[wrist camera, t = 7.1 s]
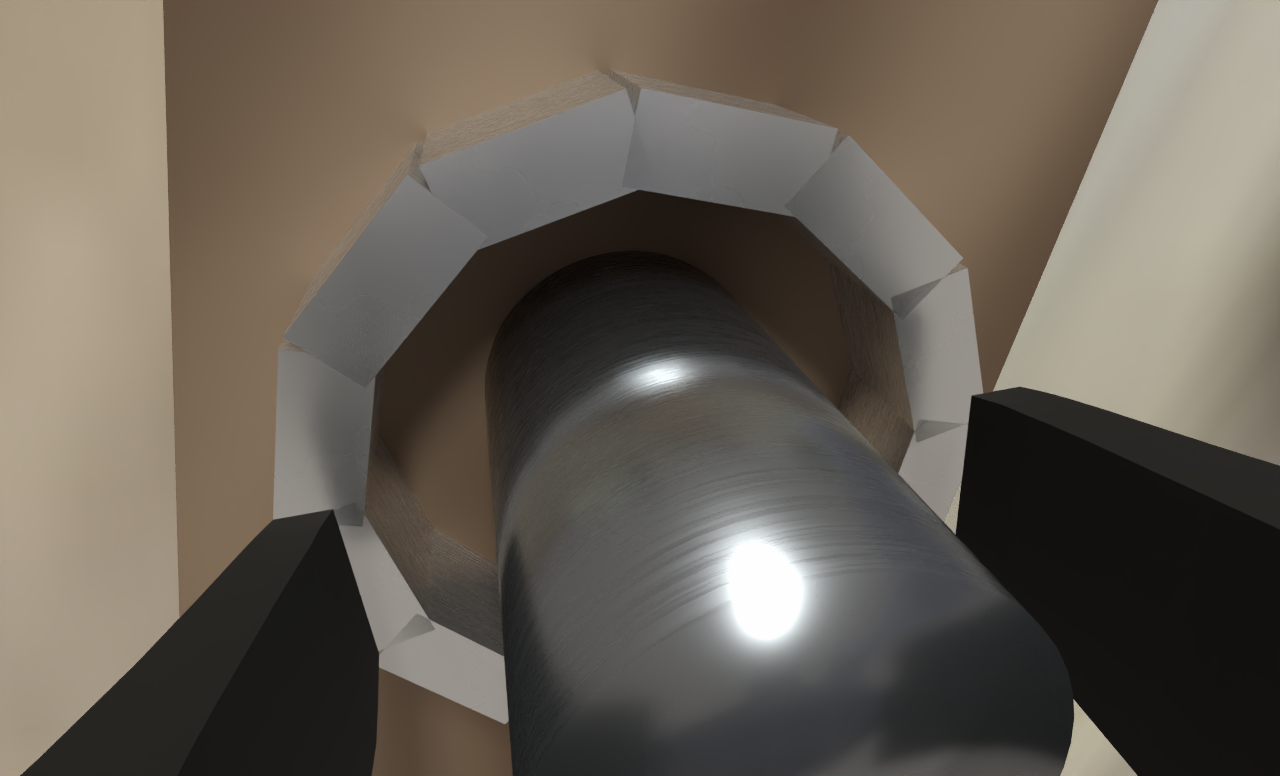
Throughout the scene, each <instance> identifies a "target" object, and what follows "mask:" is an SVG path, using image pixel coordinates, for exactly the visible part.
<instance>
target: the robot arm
mask: <svg viewBox="0 0 1280 776" xmlns="http://www.w3.org/2000/svg"><path fill="white" fill-rule="evenodd" d="M956 536H957V537H958V538H959V539H960V540H961V541H962V542H963V543H964V544H965V546H966V547H967V548H968V549H969V550H970V551H971V552H972V553H973V554H974V555H975V556H976V557H977V558H978V559H979V560H980V562H981V563H982V564H983V565H984V566H985V567H986V568H987V569H988V570H989V571H990V572H991V573H992V574H993V575H994V577H995V578H996V579H997V580H998V581H999V582H1000V583H1001V584H1002V585H1003V586H1004V587H1005V588H1006V589H1007V590H1008V591H1009V593H1010V594H1011V595H1012V596H1013V597H1014V598H1015V599H1016V600H1017V601H1018V602H1019V603H1020V604H1021V605H1022V606H1023V608H1024V609H1025V610H1026V611H1027V612H1028V613H1029V614H1030V615H1031V616H1032V617H1033V618H1034V619H1035V620H1036V621H1037V622H1038V624H1039V625H1040V626H1041V627H1042V628H1043V629H1044V631H1045V632H1046V633H1047V635H1048V636H1049V637H1050V639H1051V640H1052V641H1053V643H1054V644H1055V645H1056V647H1057V648H1058V651H1059V653H1060V655H1061V657H1062V659H1063V661H1064V663H1065V665H1066V668H1067V670H1068V674H1069V678H1070V683H1071V687H1072V691H1073V699H1074V700H1075V701H1076V702H1077V704H1078V705H1079V706H1080V707H1081V708H1082V710H1083V711H1084V712H1085V713H1086V714H1087V716H1088V717H1089V718H1090V719H1091V720H1092V721H1093V723H1094V724H1095V725H1096V726H1097V727H1098V729H1099V730H1100V731H1101V732H1102V733H1103V735H1104V736H1105V737H1106V738H1107V739H1108V741H1109V742H1110V743H1111V744H1112V745H1113V747H1114V748H1115V749H1116V750H1117V751H1118V753H1119V754H1120V755H1121V756H1122V757H1123V758H1124V760H1125V761H1126V762H1127V763H1128V764H1129V766H1130V767H1131V768H1132V769H1133V770H1134V772H1135V773H1136V774H1137V775H1138V776H1280V466H1279V465H1275V464H1272V463H1269V462H1266V461H1262V460H1259V459H1256V458H1253V457H1249V456H1246V455H1243V454H1240V453H1237V452H1233V451H1230V450H1227V449H1224V448H1221V447H1218V446H1215V445H1211V444H1208V443H1205V442H1202V441H1199V440H1196V439H1193V438H1190V437H1187V436H1184V435H1181V434H1177V433H1174V432H1171V431H1168V430H1165V429H1162V428H1159V427H1156V426H1153V425H1150V424H1147V423H1144V422H1141V421H1138V420H1135V419H1132V418H1128V417H1125V416H1122V415H1119V414H1116V413H1113V412H1110V411H1107V410H1104V409H1100V408H1097V407H1094V406H1091V405H1088V404H1084V403H1081V402H1078V401H1074V400H1071V399H1068V398H1064V397H1060V396H1057V395H1053V394H1049V393H1045V392H1042V391H1037V390H1032V389H1028V388H1023V387H1016V388H1011V389H1005V390H999V391H994V392H988V393H983V394H977V395H971V404H970V412H969V421H968V430H967V439H966V448H965V457H964V465H963V474H962V483H961V492H960V501H959V510H958V518H957V527H956ZM378 687H379V652H378V648H377V645H376V642H375V639H374V636H373V633H372V630H371V626H370V623H369V620H368V617H367V614H366V611H365V608H364V604H363V601H362V598H361V595H360V592H359V589H358V585H357V582H356V579H355V576H354V573H353V570H352V567H351V563H350V560H349V557H348V554H347V551H346V548H345V545H344V541H343V538H342V535H341V532H340V529H339V526H338V523H337V519H336V516H335V513H334V510H333V509H330V510H324V511H319V512H313V513H308V514H302V515H296V516H291V517H285V518H279V519H274V520H272V521H271V522H270V523H269V524H268V525H267V526H266V527H265V528H264V529H263V530H262V531H261V532H260V533H259V534H258V535H257V536H256V537H255V538H254V539H253V540H252V541H251V542H250V543H249V544H248V545H247V546H246V547H245V548H244V549H243V550H242V552H241V553H240V554H239V555H238V556H237V557H236V558H235V559H234V560H233V561H232V562H231V563H230V564H229V566H228V567H227V568H226V569H225V570H224V571H223V572H222V573H221V574H220V575H219V576H218V577H217V579H216V580H215V581H214V582H213V583H212V584H211V585H210V586H209V587H208V588H207V589H206V590H205V592H204V593H203V594H202V595H201V596H200V597H199V598H198V599H197V600H196V601H195V602H194V603H193V604H192V605H191V606H190V607H189V609H188V610H187V611H186V612H185V613H184V614H183V615H182V616H181V617H180V618H179V619H178V620H177V621H176V622H175V623H174V624H173V625H172V627H171V628H170V629H169V630H168V631H167V632H166V633H165V634H164V635H163V636H162V637H161V638H160V639H159V640H158V641H157V642H156V643H155V644H154V646H153V647H152V648H151V649H150V650H149V651H148V652H147V653H146V654H145V655H144V656H143V657H142V658H141V659H140V660H139V661H138V662H137V663H136V664H135V665H134V666H133V667H132V668H131V669H130V670H129V671H128V672H127V673H126V674H125V675H124V676H123V677H122V678H121V679H120V680H119V681H118V682H117V683H116V684H115V685H114V686H113V687H112V688H111V689H110V690H109V691H108V692H107V693H106V694H105V695H104V696H103V697H102V698H100V699H99V700H98V701H97V702H96V703H95V704H94V705H93V706H92V707H91V708H90V709H89V710H88V711H87V712H86V713H85V714H84V715H83V716H82V717H81V718H80V719H79V720H78V721H77V722H76V723H75V724H74V725H73V726H72V727H71V728H70V729H69V730H68V731H67V732H66V733H65V734H64V735H63V736H61V737H60V738H59V739H58V740H57V741H56V742H55V743H54V744H53V745H52V746H51V747H50V748H49V749H48V750H47V751H46V752H45V753H44V754H43V755H42V756H41V757H40V758H39V759H38V760H37V761H36V762H35V763H33V764H32V765H31V766H30V767H29V768H28V769H27V770H26V771H25V772H24V773H23V774H21V775H20V776H372V770H373V764H374V757H375V750H376V742H377V718H378Z"/></svg>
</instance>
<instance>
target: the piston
mask: <svg viewBox="0 0 1280 776" xmlns="http://www.w3.org/2000/svg"><path fill="white" fill-rule="evenodd" d="M485 403H486V417H487V431H488V444H489V458H490V472H491V485H492V499H493V513H494V527H495V540H496V554H497V568H498V581H499V595H500V609H501V623H502V636H503V650H504V664H505V678H506V691H507V705H508V719H509V732H510V746H511V760H512V774H513V776H1060V775H1061V772H1062V770H1063V768H1064V764H1065V761H1066V757H1067V754H1068V751H1069V747H1070V744H1071V737H1072V730H1073V722H1074V704H1073V691H1072V687H1071V683H1070V678H1069V674H1068V670H1067V668H1066V665H1065V663H1064V661H1063V659H1062V657H1061V655H1060V653H1059V651H1058V648H1057V647H1056V645H1055V644H1054V643H1053V641H1052V640H1051V639H1050V637H1049V636H1048V635H1047V633H1046V632H1045V631H1044V629H1043V628H1042V627H1041V626H1040V625H1039V624H1038V622H1037V621H1036V620H1035V619H1034V618H1033V617H1032V616H1031V615H1030V614H1029V613H1028V612H1027V611H1026V610H1025V609H1024V608H1023V606H1022V605H1021V604H1020V603H1019V602H1018V601H1017V600H1016V599H1015V598H1014V597H1013V596H1012V595H1011V594H1010V593H1009V591H1008V590H1007V589H1006V588H1005V587H1004V586H1003V585H1002V584H1001V583H1000V582H999V581H998V580H997V579H996V578H995V577H994V575H993V574H992V573H991V572H990V571H989V570H988V569H987V568H986V567H985V566H984V565H983V564H982V563H981V562H980V560H979V559H978V558H977V557H976V556H975V555H974V554H973V553H972V552H971V551H970V550H969V549H968V548H967V547H966V546H965V544H964V543H963V542H962V541H961V540H960V539H959V538H958V537H957V536H956V535H955V534H954V533H953V532H952V531H951V529H950V528H949V527H948V526H947V525H946V524H945V523H944V522H943V521H942V520H941V519H940V518H939V517H938V516H937V514H936V513H935V512H934V511H933V510H932V509H931V508H930V507H929V506H928V505H927V504H926V503H925V502H924V501H923V500H922V498H921V497H920V496H919V495H918V494H917V493H916V492H915V491H914V490H913V489H912V488H911V487H910V486H909V485H908V483H907V482H906V481H905V480H904V479H903V478H902V477H901V476H900V475H899V474H898V473H897V472H896V471H895V470H894V469H893V467H892V466H891V465H890V464H889V463H888V462H887V461H886V460H885V459H884V458H883V457H882V456H881V455H880V454H879V452H878V451H877V450H876V449H875V448H874V447H873V446H872V445H871V444H870V443H869V442H868V441H867V440H866V439H865V437H864V436H863V435H862V434H861V433H860V432H859V431H858V430H857V429H856V428H855V427H854V426H853V425H852V424H851V423H850V421H849V420H848V419H847V418H846V417H845V416H844V415H843V414H842V413H841V412H840V411H839V410H838V409H837V408H836V406H835V405H834V404H833V403H832V402H831V401H830V400H829V399H828V398H827V397H826V396H825V395H824V394H823V393H822V392H821V390H820V389H819V388H818V387H817V386H816V385H815V384H814V383H813V382H812V381H811V380H810V379H809V378H808V377H807V375H806V374H805V373H804V372H803V371H802V370H801V369H800V368H799V367H798V366H797V365H796V364H795V363H794V362H793V360H792V359H791V358H790V357H789V356H788V355H787V354H786V353H785V352H784V351H783V350H782V349H781V348H780V347H779V346H778V344H777V343H776V342H775V341H774V340H773V339H772V338H771V337H770V336H769V335H768V334H767V333H766V332H765V331H764V329H763V328H762V327H761V326H760V325H759V324H758V323H757V322H756V321H755V320H754V319H753V318H752V317H751V316H750V315H749V313H748V312H747V311H746V310H745V309H744V308H743V307H742V306H741V305H740V304H739V303H738V302H737V301H736V300H735V298H734V297H733V296H732V295H731V294H730V293H729V292H728V291H727V290H726V289H725V288H724V287H723V286H722V285H721V284H720V283H718V282H717V281H716V280H715V279H714V278H713V277H711V276H710V275H708V274H707V273H705V272H704V271H703V270H701V269H699V268H697V267H695V266H693V265H691V264H689V263H687V262H685V261H683V260H680V259H677V258H674V257H671V256H668V255H663V254H658V253H653V252H644V251H620V252H609V253H605V254H600V255H595V256H591V257H588V258H585V259H582V260H579V261H576V262H574V263H571V264H569V265H567V266H565V267H563V268H561V269H559V270H557V271H555V272H554V273H552V274H551V275H549V276H548V277H546V278H545V279H543V280H542V281H540V282H539V283H538V284H537V285H536V286H534V287H533V288H532V289H531V290H530V291H529V292H528V293H526V294H525V295H524V296H523V297H522V299H521V300H520V301H519V302H518V303H517V304H516V305H515V307H514V308H513V309H512V310H511V312H510V313H509V315H508V316H507V318H506V319H505V321H504V322H503V324H502V325H501V327H500V329H499V331H498V333H497V335H496V337H495V339H494V342H493V345H492V348H491V351H490V354H489V357H488V362H487V368H486V373H485Z"/></svg>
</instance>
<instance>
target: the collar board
mask: <svg viewBox="0 0 1280 776" xmlns="http://www.w3.org/2000/svg"><path fill="white" fill-rule="evenodd" d="M1157 2H1158V0H163V11H164V48H165V86H166V124H167V162H168V199H169V237H170V275H171V312H172V350H173V388H174V425H175V463H176V501H177V538H178V576H179V614H180V617H181V616H182V615H183V614H184V613H185V612H186V611H187V610H188V609H189V607H190V606H191V605H192V604H193V603H194V602H195V601H196V600H197V599H198V598H199V597H200V596H201V595H202V594H203V593H204V592H205V590H206V589H207V588H208V587H209V586H210V585H211V584H212V583H213V582H214V581H215V580H216V579H217V577H218V576H219V575H220V574H221V573H222V572H223V571H224V570H225V569H226V568H227V567H228V566H229V564H230V563H231V562H232V561H233V560H234V559H235V558H236V557H237V556H238V555H239V554H240V553H241V552H242V550H243V549H244V548H245V547H246V546H247V545H248V544H249V543H250V542H251V541H252V540H253V539H254V538H255V537H256V536H257V535H258V534H259V533H260V532H261V531H262V530H263V529H264V528H265V527H266V526H267V525H268V524H269V523H270V522H271V521H272V520H274V519H279V518H285V517H291V516H296V515H302V514H308V513H313V512H319V511H324V510H330V509H333V510H334V513H335V516H336V519H337V523H338V526H339V529H340V532H341V535H342V538H343V541H344V545H345V548H346V551H347V554H348V557H349V560H350V563H351V567H352V570H353V573H354V576H355V579H356V582H357V585H358V589H359V592H360V595H361V598H362V601H363V604H364V608H365V611H366V614H367V617H368V620H369V623H370V626H371V630H372V633H373V636H374V639H375V642H376V645H377V648H378V652H379V687H378V718H377V742H376V750H375V757H374V764H373V770H372V776H513V774H512V760H511V746H510V732H509V719H508V705H507V691H506V678H505V664H504V650H503V636H502V623H501V609H500V595H499V581H498V568H497V554H496V540H495V527H494V513H493V499H492V485H491V472H490V458H489V444H488V431H487V417H486V403H485V373H486V368H487V362H488V357H489V354H490V351H491V348H492V345H493V342H494V339H495V337H496V335H497V333H498V331H499V329H500V327H501V325H502V324H503V322H504V321H505V319H506V318H507V316H508V315H509V313H510V312H511V310H512V309H513V308H514V307H515V305H516V304H517V303H518V302H519V301H520V300H521V299H522V297H523V296H524V295H525V294H526V293H528V292H529V291H530V290H531V289H532V288H533V287H534V286H536V285H537V284H538V283H539V282H540V281H542V280H543V279H545V278H546V277H548V276H549V275H551V274H552V273H554V272H555V271H557V270H559V269H561V268H563V267H565V266H567V265H569V264H571V263H574V262H576V261H579V260H582V259H585V258H588V257H591V256H595V255H600V254H605V253H609V252H620V251H644V252H653V253H658V254H663V255H668V256H671V257H674V258H677V259H680V260H683V261H685V262H687V263H689V264H691V265H693V266H695V267H697V268H699V269H701V270H703V271H704V272H705V273H707V274H708V275H710V276H711V277H713V278H714V279H715V280H716V281H717V282H718V283H720V284H721V285H722V286H723V287H724V288H725V289H726V290H727V291H728V292H729V293H730V294H731V295H732V296H733V297H734V298H735V300H736V301H737V302H738V303H739V304H740V305H741V306H742V307H743V308H744V309H745V310H746V311H747V312H748V313H749V315H750V316H751V317H752V318H753V319H754V320H755V321H756V322H757V323H758V324H759V325H760V326H761V327H762V328H763V329H764V331H765V332H766V333H767V334H768V335H769V336H770V337H771V338H772V339H773V340H774V341H775V342H776V343H777V344H778V346H779V347H780V348H781V349H782V350H783V351H784V352H785V353H786V354H787V355H788V356H789V357H790V358H791V359H792V360H793V362H794V363H795V364H796V365H797V366H798V367H799V368H800V369H801V370H802V371H803V372H804V373H805V374H806V375H807V377H808V378H809V379H810V380H811V381H812V382H813V383H814V384H815V385H816V386H817V387H818V388H819V389H820V390H821V392H822V393H823V394H824V395H825V396H826V397H827V398H828V399H829V400H830V401H831V402H832V403H833V404H834V405H835V406H836V408H837V409H838V410H839V411H840V412H841V413H842V414H843V415H844V416H845V417H846V418H847V419H848V420H849V421H850V423H851V424H852V425H853V426H854V427H855V428H856V429H857V430H858V431H859V432H860V433H861V434H862V435H863V436H864V437H865V439H866V440H867V441H868V442H869V443H870V444H871V445H872V446H873V447H874V448H875V449H876V450H877V451H878V452H879V454H880V455H881V456H882V457H883V458H884V459H885V460H886V461H887V462H888V463H889V464H890V465H891V466H892V467H893V469H894V470H895V471H896V472H897V473H898V474H899V475H900V476H901V477H902V478H903V479H904V480H905V481H906V482H907V483H908V485H909V486H910V487H911V488H912V489H913V490H914V491H915V492H916V493H917V494H918V495H919V496H920V497H921V498H922V500H923V501H924V502H925V503H926V504H927V505H928V506H929V507H930V508H931V509H932V510H933V511H934V512H935V513H936V514H937V516H938V517H939V518H940V519H941V520H942V521H943V522H944V520H945V517H946V515H947V513H948V510H949V508H950V506H951V503H952V501H953V499H954V496H955V494H956V492H957V489H958V487H959V485H960V482H961V480H962V474H963V465H964V457H965V448H966V439H967V430H968V421H969V412H970V404H971V395H977V394H983V393H988V392H993V389H994V387H995V385H996V382H997V380H998V377H999V375H1000V373H1001V370H1002V368H1003V366H1004V363H1005V361H1006V359H1007V356H1008V354H1009V352H1010V349H1011V347H1012V344H1013V342H1014V340H1015V337H1016V335H1017V333H1018V330H1019V328H1020V326H1021V323H1022V321H1023V318H1024V316H1025V314H1026V311H1027V309H1028V307H1029V304H1030V302H1031V300H1032V297H1033V295H1034V292H1035V290H1036V288H1037V285H1038V283H1039V281H1040V278H1041V276H1042V274H1043V271H1044V269H1045V266H1046V264H1047V262H1048V259H1049V257H1050V255H1051V252H1052V250H1053V248H1054V245H1055V243H1056V241H1057V238H1058V236H1059V233H1060V231H1061V229H1062V226H1063V224H1064V222H1065V219H1066V217H1067V215H1068V212H1069V210H1070V207H1071V205H1072V203H1073V200H1074V198H1075V196H1076V193H1077V191H1078V189H1079V186H1080V184H1081V181H1082V179H1083V177H1084V174H1085V172H1086V170H1087V167H1088V165H1089V163H1090V160H1091V158H1092V155H1093V153H1094V151H1095V148H1096V146H1097V144H1098V141H1099V139H1100V137H1101V134H1102V132H1103V130H1104V127H1105V125H1106V122H1107V120H1108V118H1109V115H1110V113H1111V111H1112V108H1113V106H1114V104H1115V101H1116V99H1117V96H1118V94H1119V92H1120V89H1121V87H1122V85H1123V82H1124V80H1125V78H1126V75H1127V73H1128V70H1129V68H1130V66H1131V63H1132V61H1133V59H1134V56H1135V54H1136V52H1137V49H1138V47H1139V44H1140V42H1141V40H1142V37H1143V35H1144V33H1145V30H1146V28H1147V26H1148V23H1149V21H1150V19H1151V16H1152V14H1153V11H1154V9H1155V7H1156V4H1157Z"/></svg>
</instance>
